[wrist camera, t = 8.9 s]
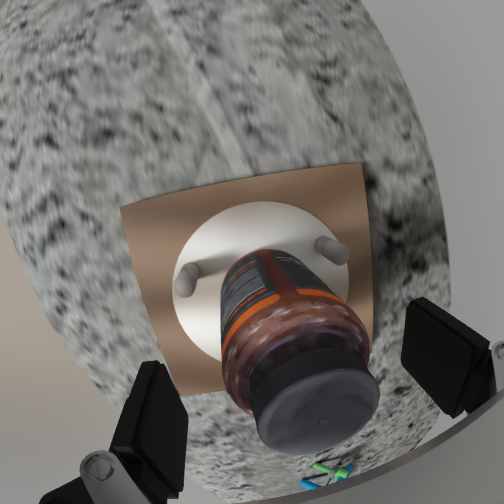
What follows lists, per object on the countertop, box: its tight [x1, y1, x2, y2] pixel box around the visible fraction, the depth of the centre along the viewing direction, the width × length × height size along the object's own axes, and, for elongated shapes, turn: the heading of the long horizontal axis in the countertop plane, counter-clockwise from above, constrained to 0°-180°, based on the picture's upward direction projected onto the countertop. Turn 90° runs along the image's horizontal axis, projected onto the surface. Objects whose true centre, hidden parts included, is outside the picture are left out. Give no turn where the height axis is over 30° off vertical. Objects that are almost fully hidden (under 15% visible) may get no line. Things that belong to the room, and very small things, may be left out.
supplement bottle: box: [220, 249, 380, 455], centre depth 12 cm, size 6×6×11 cm
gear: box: [299, 463, 354, 490], centre depth 24 cm, size 11×6×10 cm
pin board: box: [119, 163, 373, 396], centre depth 17 cm, size 15×16×4 cm
